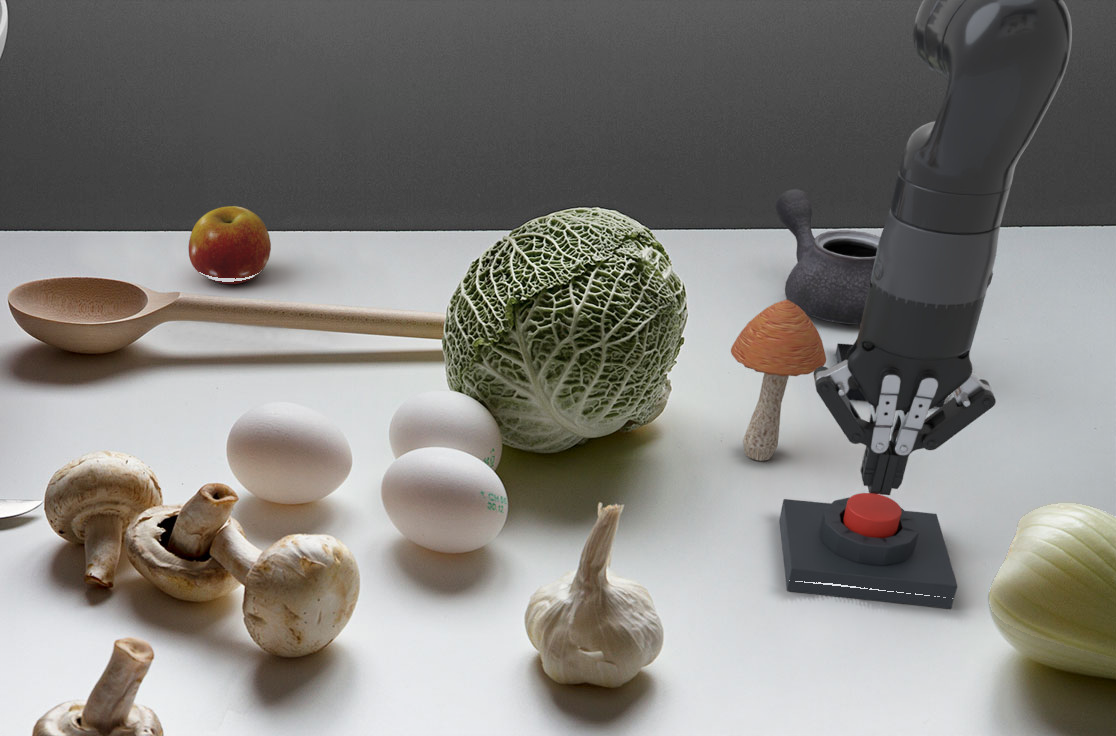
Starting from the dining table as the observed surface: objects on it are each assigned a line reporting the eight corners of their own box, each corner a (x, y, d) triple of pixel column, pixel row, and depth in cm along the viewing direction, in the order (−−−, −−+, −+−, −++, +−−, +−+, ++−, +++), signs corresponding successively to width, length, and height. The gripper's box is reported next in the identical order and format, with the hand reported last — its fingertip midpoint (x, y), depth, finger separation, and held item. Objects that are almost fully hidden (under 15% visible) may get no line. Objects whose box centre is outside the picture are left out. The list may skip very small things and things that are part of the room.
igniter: (893, 513, 102) (898, 495, 101) (900, 542, 99) (905, 523, 98) (840, 508, 103) (844, 490, 102) (845, 536, 100) (850, 517, 99)
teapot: (942, 309, 143) (964, 222, 137) (845, 342, 136) (864, 252, 130) (811, 254, 156) (826, 173, 151) (717, 282, 150) (729, 198, 144)
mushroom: (782, 427, 121) (810, 278, 113) (822, 471, 114) (854, 316, 106) (701, 435, 120) (724, 285, 112) (737, 480, 113) (763, 324, 105)
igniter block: (930, 535, 106) (942, 494, 104) (951, 609, 98) (963, 566, 96) (779, 520, 108) (787, 479, 106) (786, 591, 100) (795, 548, 98)
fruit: (203, 298, 147) (197, 231, 143) (181, 270, 154) (175, 205, 150) (283, 284, 150) (279, 218, 146) (257, 257, 157) (254, 193, 153)
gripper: (1019, 264, 92) (960, 472, 101) (825, 251, 94) (785, 455, 103) (1043, 308, 85) (978, 525, 95) (835, 292, 88) (791, 506, 97)
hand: (877, 488), depth 99 cm, fingers closed
